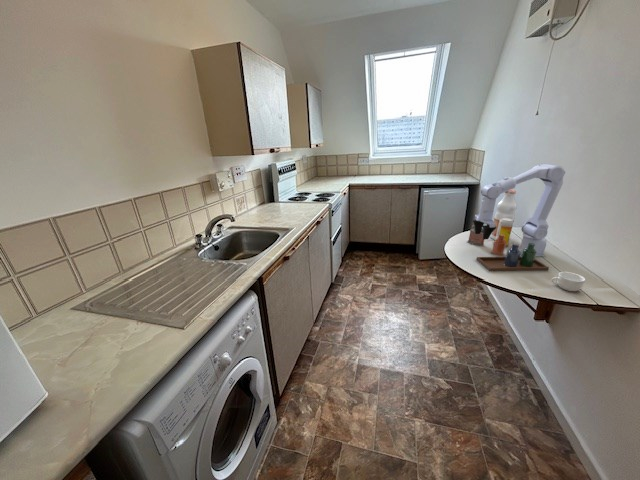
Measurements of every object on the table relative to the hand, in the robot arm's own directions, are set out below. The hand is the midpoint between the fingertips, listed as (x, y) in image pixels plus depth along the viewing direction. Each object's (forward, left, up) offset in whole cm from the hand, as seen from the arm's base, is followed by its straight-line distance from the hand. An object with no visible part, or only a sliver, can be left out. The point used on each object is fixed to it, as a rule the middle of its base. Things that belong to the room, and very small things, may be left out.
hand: (481, 236), depth 133 cm
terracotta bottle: (-10, 0, -10) cm, 14 cm away
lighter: (-6, -14, -10) cm, 18 cm away
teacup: (-18, +32, -10) cm, 38 cm away
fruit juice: (-23, -21, -10) cm, 33 cm away
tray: (-8, +13, -10) cm, 18 cm away
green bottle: (-15, +13, -9) cm, 22 cm away
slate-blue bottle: (-8, +13, -9) cm, 18 cm away
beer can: (-18, -11, -10) cm, 23 cm away
